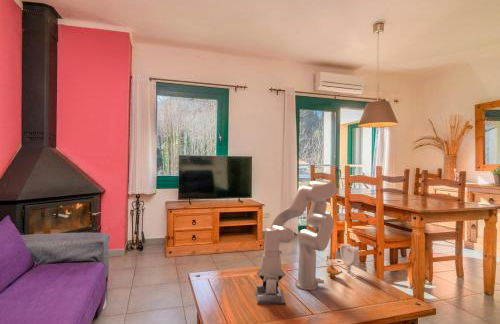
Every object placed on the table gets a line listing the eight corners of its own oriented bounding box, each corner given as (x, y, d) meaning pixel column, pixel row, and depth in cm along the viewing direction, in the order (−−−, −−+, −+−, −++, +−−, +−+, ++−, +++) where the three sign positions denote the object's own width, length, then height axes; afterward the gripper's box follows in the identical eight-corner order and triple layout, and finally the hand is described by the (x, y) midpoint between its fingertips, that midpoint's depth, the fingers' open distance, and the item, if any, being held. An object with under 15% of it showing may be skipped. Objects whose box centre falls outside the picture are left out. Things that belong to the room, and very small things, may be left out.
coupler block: (274, 289, 151) (274, 274, 151) (275, 295, 144) (276, 279, 144) (264, 289, 151) (265, 274, 151) (265, 295, 144) (266, 279, 144)
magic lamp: (336, 285, 166) (337, 265, 165) (321, 272, 183) (321, 255, 183) (347, 284, 167) (348, 265, 167) (330, 272, 185) (331, 254, 185)
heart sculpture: (338, 269, 189) (339, 242, 189) (345, 269, 190) (346, 241, 190) (352, 279, 174) (353, 249, 174) (359, 278, 175) (360, 249, 175)
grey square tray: (281, 291, 155) (282, 285, 155) (285, 304, 141) (286, 297, 141) (255, 291, 155) (256, 284, 155) (257, 304, 141) (257, 297, 141)
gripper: (287, 251, 152) (285, 285, 152) (254, 250, 151) (253, 284, 151) (289, 255, 144) (288, 292, 144) (255, 255, 144) (254, 291, 144)
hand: (270, 288), depth 148 cm, fingers closed on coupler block, 4 cm apart
